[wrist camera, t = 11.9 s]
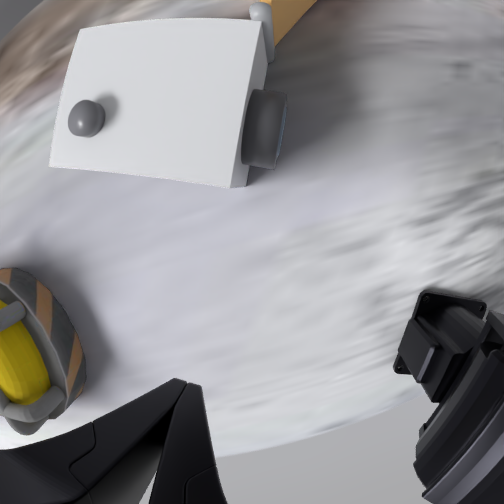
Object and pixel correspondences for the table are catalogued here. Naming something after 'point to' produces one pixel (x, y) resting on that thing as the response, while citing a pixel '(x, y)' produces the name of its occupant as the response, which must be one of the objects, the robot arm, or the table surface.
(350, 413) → the table surface
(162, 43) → the block
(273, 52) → the side door
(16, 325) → the cage light
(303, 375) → the table surface
